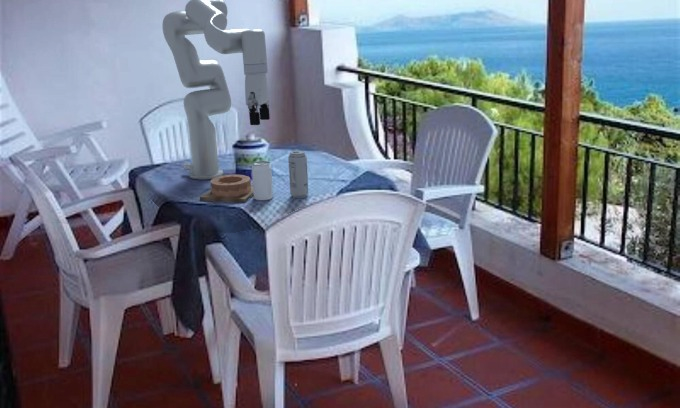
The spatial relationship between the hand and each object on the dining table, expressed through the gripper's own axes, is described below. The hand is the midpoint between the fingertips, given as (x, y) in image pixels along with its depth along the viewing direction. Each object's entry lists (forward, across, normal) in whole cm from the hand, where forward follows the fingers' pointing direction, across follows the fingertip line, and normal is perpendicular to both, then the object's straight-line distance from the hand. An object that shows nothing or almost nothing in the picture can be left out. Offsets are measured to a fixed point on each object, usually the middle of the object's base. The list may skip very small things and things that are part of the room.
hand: (260, 122), depth 239 cm
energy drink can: (+25, -1, +11) cm, 28 cm away
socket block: (+24, 0, -12) cm, 27 cm away
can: (+25, +3, 0) cm, 25 cm away
